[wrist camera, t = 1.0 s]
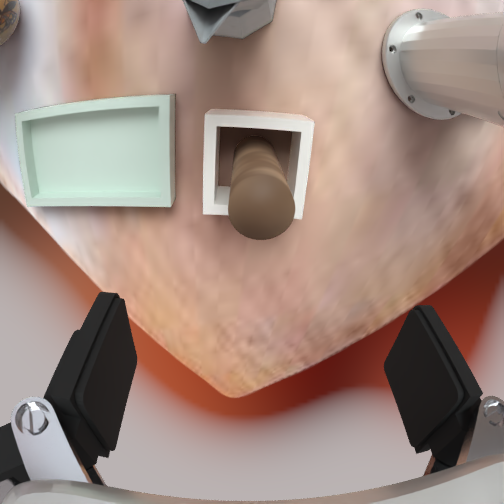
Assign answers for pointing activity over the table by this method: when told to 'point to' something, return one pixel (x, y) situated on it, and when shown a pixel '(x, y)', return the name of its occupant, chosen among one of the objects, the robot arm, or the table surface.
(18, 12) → the ceramic vessel
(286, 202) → the dowel
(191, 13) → the coffee maker
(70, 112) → the tray
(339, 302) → the table surface
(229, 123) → the white square ring
